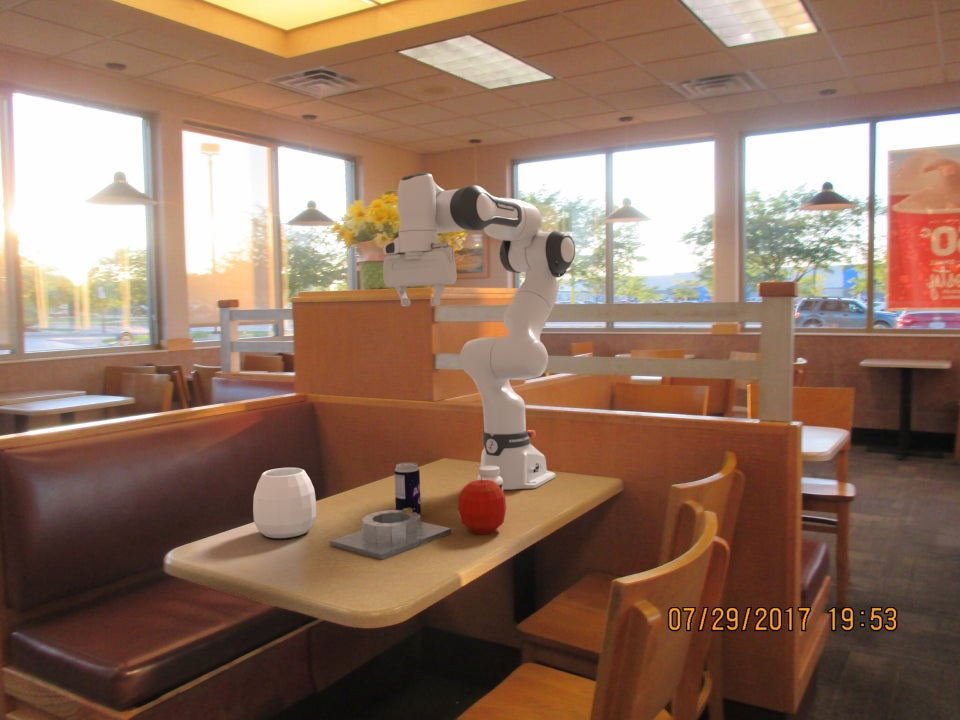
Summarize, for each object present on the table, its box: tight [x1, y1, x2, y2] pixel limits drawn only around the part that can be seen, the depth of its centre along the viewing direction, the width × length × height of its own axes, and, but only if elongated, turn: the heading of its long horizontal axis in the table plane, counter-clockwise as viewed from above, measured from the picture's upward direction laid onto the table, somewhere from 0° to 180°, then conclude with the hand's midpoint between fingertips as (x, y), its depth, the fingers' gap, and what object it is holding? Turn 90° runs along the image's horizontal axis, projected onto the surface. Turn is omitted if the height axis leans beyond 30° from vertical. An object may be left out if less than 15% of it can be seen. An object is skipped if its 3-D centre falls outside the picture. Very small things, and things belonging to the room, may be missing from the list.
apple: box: [457, 478, 507, 535], centre depth 159 cm, size 10×10×12 cm
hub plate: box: [329, 508, 452, 561], centre depth 155 cm, size 20×15×5 cm
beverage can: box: [393, 462, 422, 515], centre depth 171 cm, size 6×6×12 cm
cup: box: [252, 467, 317, 539], centre depth 161 cm, size 13×13×14 cm
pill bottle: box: [475, 466, 504, 492], centre depth 171 cm, size 6×6×11 cm
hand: (420, 305), depth 173 cm, fingers open, 8 cm apart
